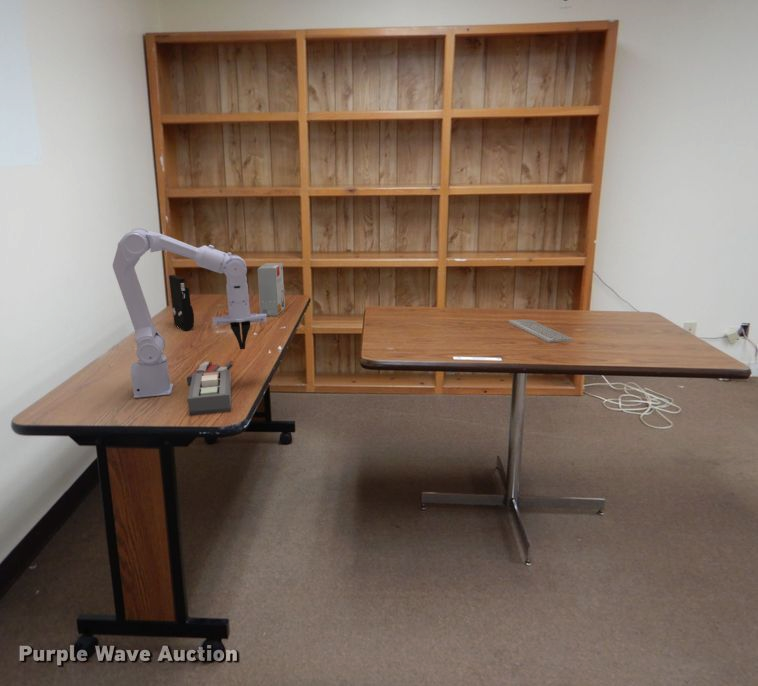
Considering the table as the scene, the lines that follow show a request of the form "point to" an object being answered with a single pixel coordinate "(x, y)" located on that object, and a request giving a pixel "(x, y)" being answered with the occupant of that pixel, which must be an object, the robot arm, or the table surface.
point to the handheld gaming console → (181, 303)
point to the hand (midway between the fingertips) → (242, 348)
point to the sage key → (209, 390)
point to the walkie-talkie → (207, 369)
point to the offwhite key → (209, 381)
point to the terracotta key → (212, 374)
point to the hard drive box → (271, 289)
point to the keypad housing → (213, 401)
